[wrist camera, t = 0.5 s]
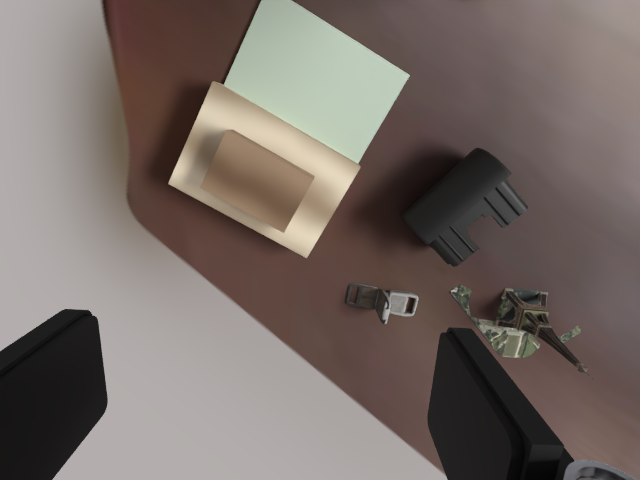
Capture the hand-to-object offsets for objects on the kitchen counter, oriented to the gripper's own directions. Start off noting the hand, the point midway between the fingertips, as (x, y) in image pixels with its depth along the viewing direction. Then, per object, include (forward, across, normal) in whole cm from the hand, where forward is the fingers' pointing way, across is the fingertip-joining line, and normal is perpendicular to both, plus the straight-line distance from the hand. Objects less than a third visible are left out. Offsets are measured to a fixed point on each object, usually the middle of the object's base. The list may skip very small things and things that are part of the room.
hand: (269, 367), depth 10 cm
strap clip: (+33, -10, +12) cm, 37 cm away
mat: (+32, 0, -12) cm, 34 cm away
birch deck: (+32, +4, -2) cm, 33 cm away
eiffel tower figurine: (+33, -26, +13) cm, 44 cm away
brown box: (+28, +5, -2) cm, 29 cm away
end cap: (+32, -16, 0) cm, 36 cm away
